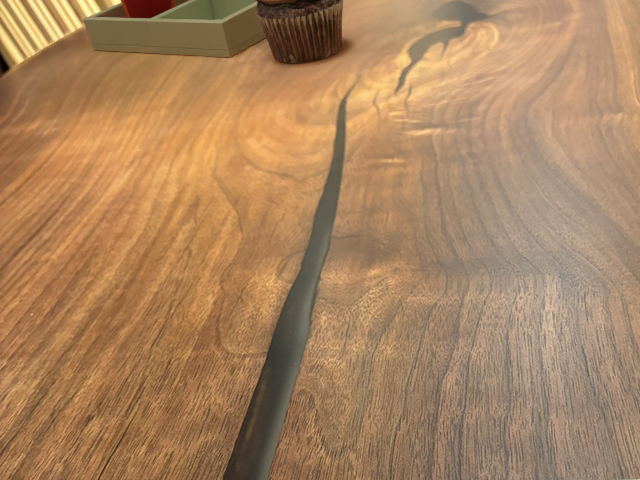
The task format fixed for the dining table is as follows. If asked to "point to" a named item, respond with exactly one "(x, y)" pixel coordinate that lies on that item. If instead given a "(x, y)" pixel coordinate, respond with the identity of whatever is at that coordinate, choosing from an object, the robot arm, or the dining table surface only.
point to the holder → (179, 29)
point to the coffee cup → (146, 7)
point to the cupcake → (301, 28)
